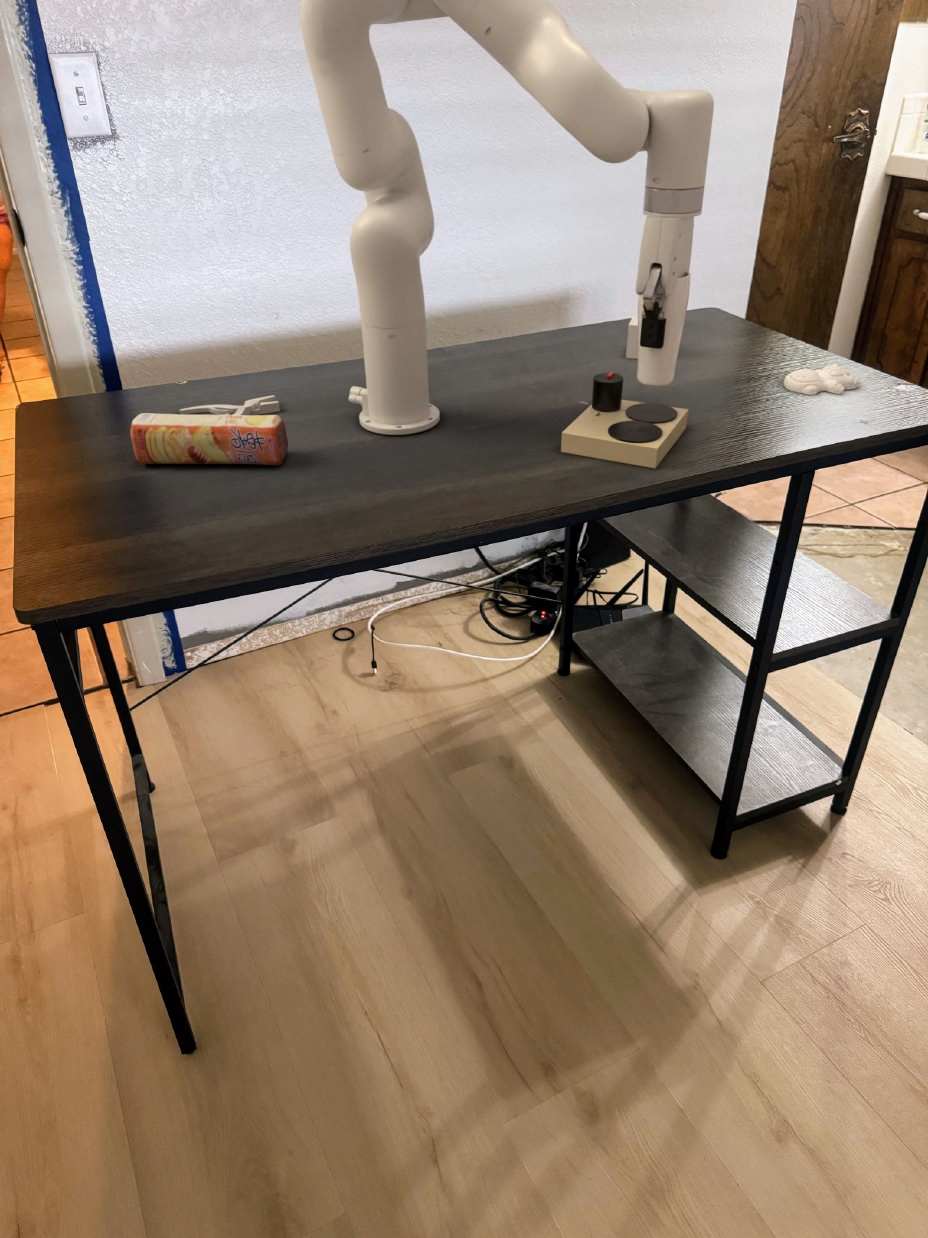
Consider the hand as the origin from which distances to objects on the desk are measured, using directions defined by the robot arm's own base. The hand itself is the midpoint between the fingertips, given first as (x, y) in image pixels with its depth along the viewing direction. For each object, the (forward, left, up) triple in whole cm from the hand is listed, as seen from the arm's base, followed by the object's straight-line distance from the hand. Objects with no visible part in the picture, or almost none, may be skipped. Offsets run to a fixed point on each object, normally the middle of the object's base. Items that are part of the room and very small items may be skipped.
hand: (659, 338), depth 123 cm
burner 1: (0, 0, -11) cm, 11 cm away
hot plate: (-3, -4, -14) cm, 15 cm away
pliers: (-63, -20, -14) cm, 68 cm away
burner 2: (0, -8, -11) cm, 14 cm away
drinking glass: (0, 0, -6) cm, 6 cm away
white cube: (-12, +36, -14) cm, 41 cm away
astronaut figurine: (+20, +31, -14) cm, 40 cm away
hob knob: (-7, 0, -11) cm, 13 cm away
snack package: (-54, -35, -14) cm, 66 cm away
